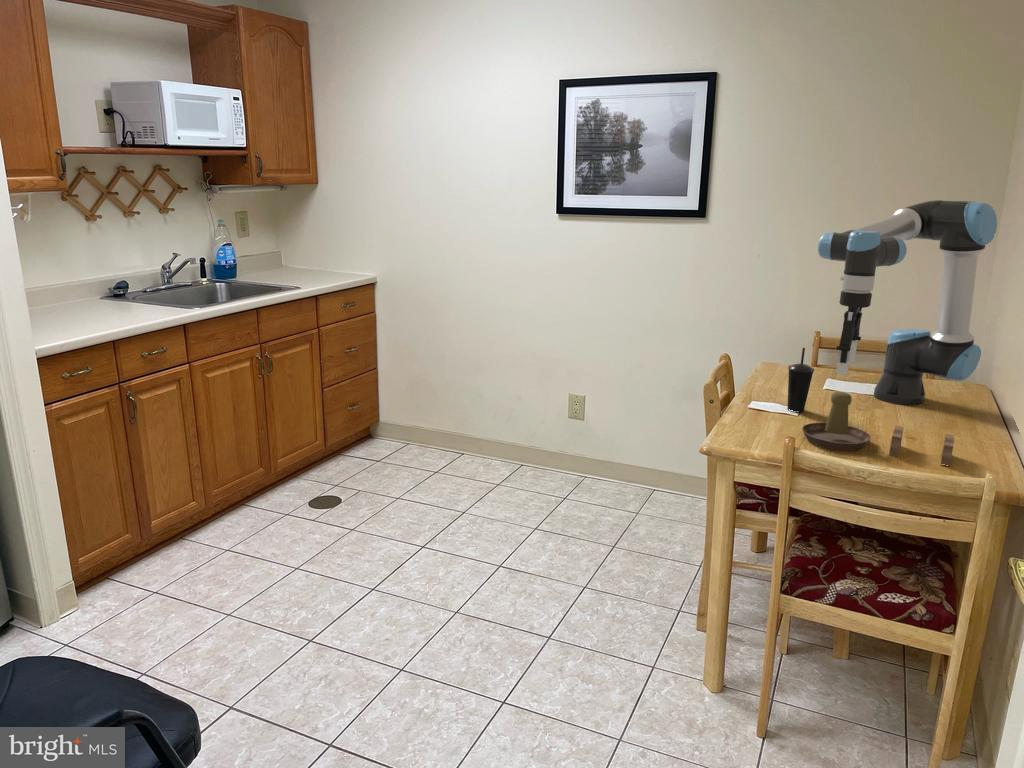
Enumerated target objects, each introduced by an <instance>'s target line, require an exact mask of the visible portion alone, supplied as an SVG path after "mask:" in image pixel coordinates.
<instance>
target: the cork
mask: <svg viewBox="0 0 1024 768" xmlns="http://www.w3.org/2000/svg"><path fill="white" fill-rule="evenodd" d="M830 401H831V403H832V404H831V406H830V407H831V408H830V410H829V414H828V417H827V421H826V422H825V423H826V427H825V431H827V432H830V433H834V434H847V433H848V426H849V406H850V405H851V403H852V396H851V395H850V393H847V392H844V391H843V392H842V391H836V392H833V393H832V395H831V397H830Z"/></svg>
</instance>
